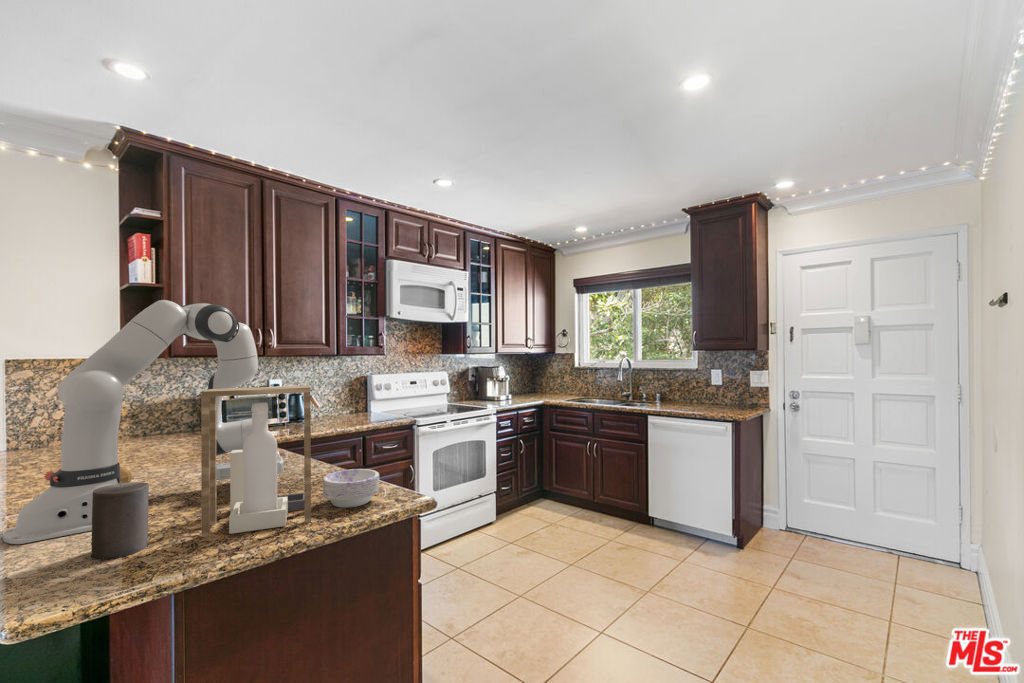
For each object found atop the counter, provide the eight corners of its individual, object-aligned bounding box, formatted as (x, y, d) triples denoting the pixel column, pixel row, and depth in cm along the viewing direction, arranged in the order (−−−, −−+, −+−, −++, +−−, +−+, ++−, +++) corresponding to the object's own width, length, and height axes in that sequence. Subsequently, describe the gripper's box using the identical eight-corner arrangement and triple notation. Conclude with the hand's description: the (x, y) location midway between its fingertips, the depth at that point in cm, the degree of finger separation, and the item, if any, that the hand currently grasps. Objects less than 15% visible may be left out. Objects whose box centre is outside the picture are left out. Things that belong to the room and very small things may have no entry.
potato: (104, 498, 145) (104, 471, 145) (81, 492, 151) (82, 467, 152) (141, 489, 154) (141, 464, 154) (118, 485, 160) (118, 460, 160)
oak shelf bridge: (209, 523, 121) (209, 389, 122) (310, 510, 130) (310, 385, 131) (201, 537, 112) (201, 391, 113) (311, 521, 121) (310, 387, 122)
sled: (232, 508, 132) (232, 450, 132) (288, 501, 137) (288, 445, 138) (219, 535, 112) (219, 466, 113) (285, 525, 118) (285, 460, 118)
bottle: (271, 527, 118) (271, 404, 118) (237, 529, 116) (236, 405, 117) (281, 516, 125) (281, 401, 126) (249, 518, 124) (249, 402, 125)
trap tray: (253, 507, 133) (253, 498, 134) (306, 500, 139) (306, 492, 139) (249, 516, 126) (249, 506, 126) (305, 508, 131) (305, 499, 131)
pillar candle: (82, 563, 98) (84, 489, 99) (101, 546, 107) (102, 478, 108) (140, 555, 102) (142, 484, 103) (153, 539, 111) (155, 473, 112)
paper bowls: (357, 513, 127) (357, 483, 127) (310, 508, 131) (310, 479, 132) (390, 497, 141) (389, 470, 141) (346, 493, 146) (346, 467, 146)
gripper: (211, 458, 148) (201, 467, 135) (284, 451, 156) (282, 460, 143) (211, 479, 148) (202, 490, 135) (284, 471, 156) (282, 481, 143)
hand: (244, 474), depth 139 cm, fingers closed
